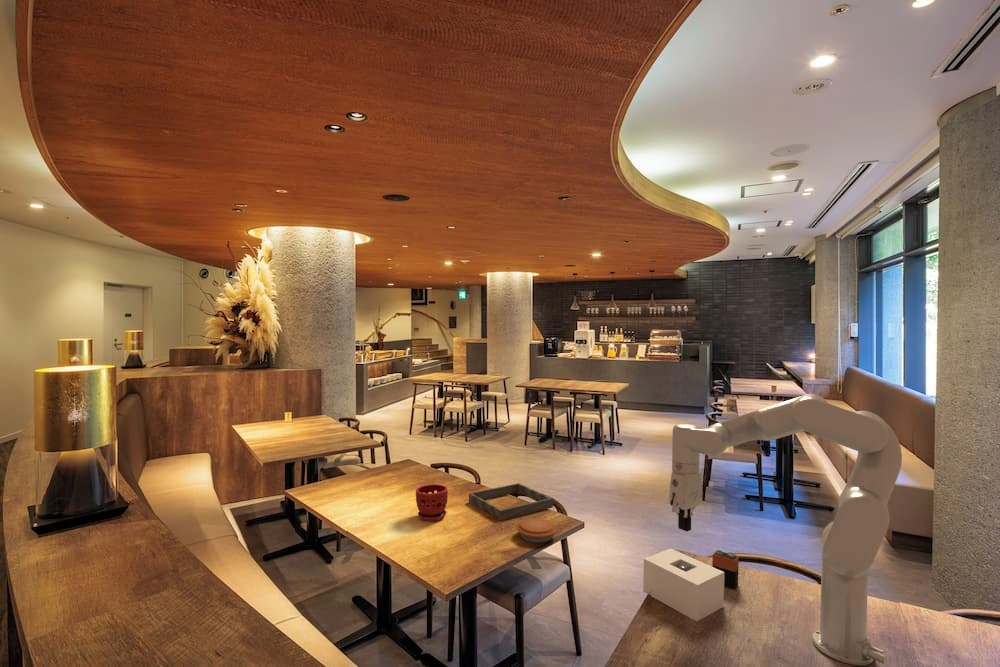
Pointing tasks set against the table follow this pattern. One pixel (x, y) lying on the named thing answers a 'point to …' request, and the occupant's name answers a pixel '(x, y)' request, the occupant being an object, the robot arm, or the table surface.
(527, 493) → the open rectangular frame
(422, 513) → the plant pot
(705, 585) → the socket block
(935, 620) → the table surface
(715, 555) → the battery
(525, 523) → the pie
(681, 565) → the peg
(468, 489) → the table surface
